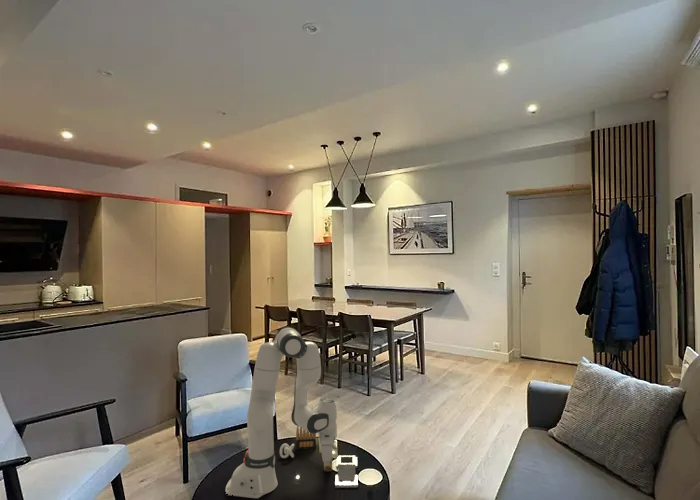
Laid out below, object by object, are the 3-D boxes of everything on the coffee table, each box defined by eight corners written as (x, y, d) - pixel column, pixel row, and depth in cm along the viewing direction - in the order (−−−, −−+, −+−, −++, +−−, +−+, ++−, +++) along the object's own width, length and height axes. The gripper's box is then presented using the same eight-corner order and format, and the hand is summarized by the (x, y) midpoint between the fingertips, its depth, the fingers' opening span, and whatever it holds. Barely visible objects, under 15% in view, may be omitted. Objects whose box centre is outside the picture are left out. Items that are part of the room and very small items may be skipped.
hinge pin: (323, 471, 188) (323, 452, 188) (324, 467, 192) (324, 448, 192) (332, 471, 188) (331, 452, 188) (332, 467, 192) (332, 448, 192)
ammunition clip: (316, 446, 213) (315, 424, 213) (316, 448, 211) (316, 425, 211) (296, 448, 211) (295, 425, 212) (295, 449, 210) (295, 427, 210)
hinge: (335, 487, 175) (334, 474, 175) (337, 459, 199) (337, 447, 199) (357, 487, 175) (357, 473, 175) (357, 459, 199) (356, 447, 199)
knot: (286, 451, 208) (286, 439, 208) (299, 454, 205) (299, 443, 205) (277, 457, 202) (277, 446, 202) (290, 461, 198) (290, 449, 198)
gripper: (322, 423, 201) (323, 451, 200) (319, 442, 180) (319, 473, 180) (335, 423, 201) (335, 450, 200) (333, 442, 180) (333, 473, 180)
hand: (328, 461), depth 190 cm, fingers closed on hinge pin, 4 cm apart
